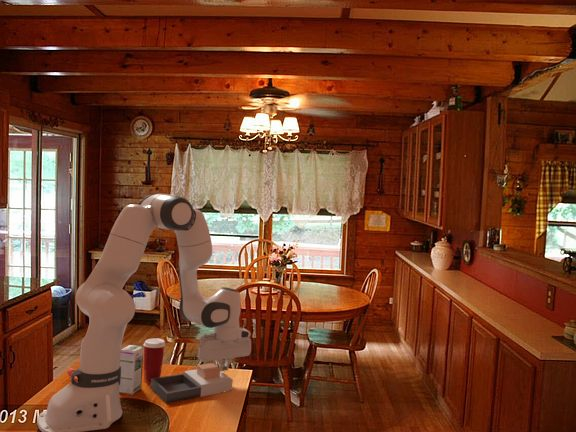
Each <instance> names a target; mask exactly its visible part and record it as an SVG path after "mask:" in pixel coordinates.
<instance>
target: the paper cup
mask: <svg viewBox="0 0 576 432" xmlns="http://www.w3.org/2000/svg"><path fill="white" fill-rule="evenodd" d="M142 345H143V380H144V381H145V382H146V383H151V379H152V378H158V377H162V369H163V359H164V353H165V346H166V343H165V340H164V339H162V338H159V337H157V338H153V337H152V338H148V339H146V340H145V341H144V343H143V344H142Z"/></svg>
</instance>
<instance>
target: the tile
mask: <svg viewBox="0 0 576 432" xmlns="http://www.w3.org/2000/svg"><path fill="white" fill-rule="evenodd" d="M196 369H197V374H198V375H199V376H200V377H202V378H203V379H210V378H216V377H220V368H219V365H218V366H217V365H216V364H214V363H213V362H212V363H205V364H204V363H203V364H198V365H197V366H196Z"/></svg>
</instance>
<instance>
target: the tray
mask: <svg viewBox="0 0 576 432" xmlns="http://www.w3.org/2000/svg"><path fill="white" fill-rule="evenodd" d="M150 389H151V390H152V391H153V392H154V393H155V394H156V395H157V396H158V397H159V398H160V399H161V400H162V401H163V402H164V403H165V404H171V403H176V402H180V401H186V400H190V399H192V400H193V399H197V398H201V397H200V396H201V387H200V386H199V385H198V384H196V383H195V382H194V381H193V380H191V379H190V378H189V377H188V376H187V375H185V374H184V373H178V374H173V375H172V374H171V375H165V376H160V377H158V378H152V379H151V382H150Z"/></svg>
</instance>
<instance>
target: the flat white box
mask: <svg viewBox="0 0 576 432" xmlns="http://www.w3.org/2000/svg"><path fill="white" fill-rule="evenodd" d="M183 374H185V375H187V376H188V377H189V378H190V379H191V380H193V381H194V382H195V383H196V384H198V385H199V386H200V387H201V396H200V397H199V398H201V397H206V396H211V395H216V393H217V394H222V393H221V392H223V393H225V392H224V391H228V390H232V391H233V381H234V380H233V378H232V377H230V376H228V375H227V374H226V373H224V371H220V377H216V378H210V379H203V378H202V377H200V376H199V375H198V374H197V368H196V369H189V370H185V371H183ZM228 392H229V391H228Z"/></svg>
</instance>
